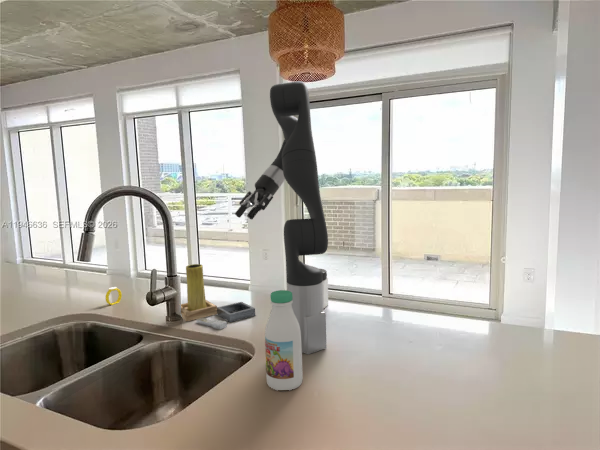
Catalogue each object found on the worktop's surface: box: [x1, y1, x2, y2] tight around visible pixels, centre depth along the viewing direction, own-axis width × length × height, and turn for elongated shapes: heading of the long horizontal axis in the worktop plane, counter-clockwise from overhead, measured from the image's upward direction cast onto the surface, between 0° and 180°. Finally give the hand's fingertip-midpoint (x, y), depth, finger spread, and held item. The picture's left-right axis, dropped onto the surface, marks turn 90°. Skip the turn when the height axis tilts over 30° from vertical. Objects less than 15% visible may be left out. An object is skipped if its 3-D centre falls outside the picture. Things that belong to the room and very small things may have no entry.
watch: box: [105, 286, 123, 306], centre depth 147 cm, size 6×3×6 cm, turn 155°
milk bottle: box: [264, 289, 303, 391], centre depth 87 cm, size 8×8×20 cm
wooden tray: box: [180, 299, 218, 322], centre depth 134 cm, size 11×11×2 cm
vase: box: [185, 263, 207, 311], centre depth 134 cm, size 6×6×14 cm
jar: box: [319, 268, 329, 310], centre depth 138 cm, size 9×8×12 cm
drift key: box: [195, 317, 228, 330], centre depth 123 cm, size 10×3×1 cm, turn 56°
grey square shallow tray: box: [216, 301, 256, 323], centre depth 131 cm, size 9×9×2 cm
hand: (243, 216), depth 137 cm, fingers open, 8 cm apart
